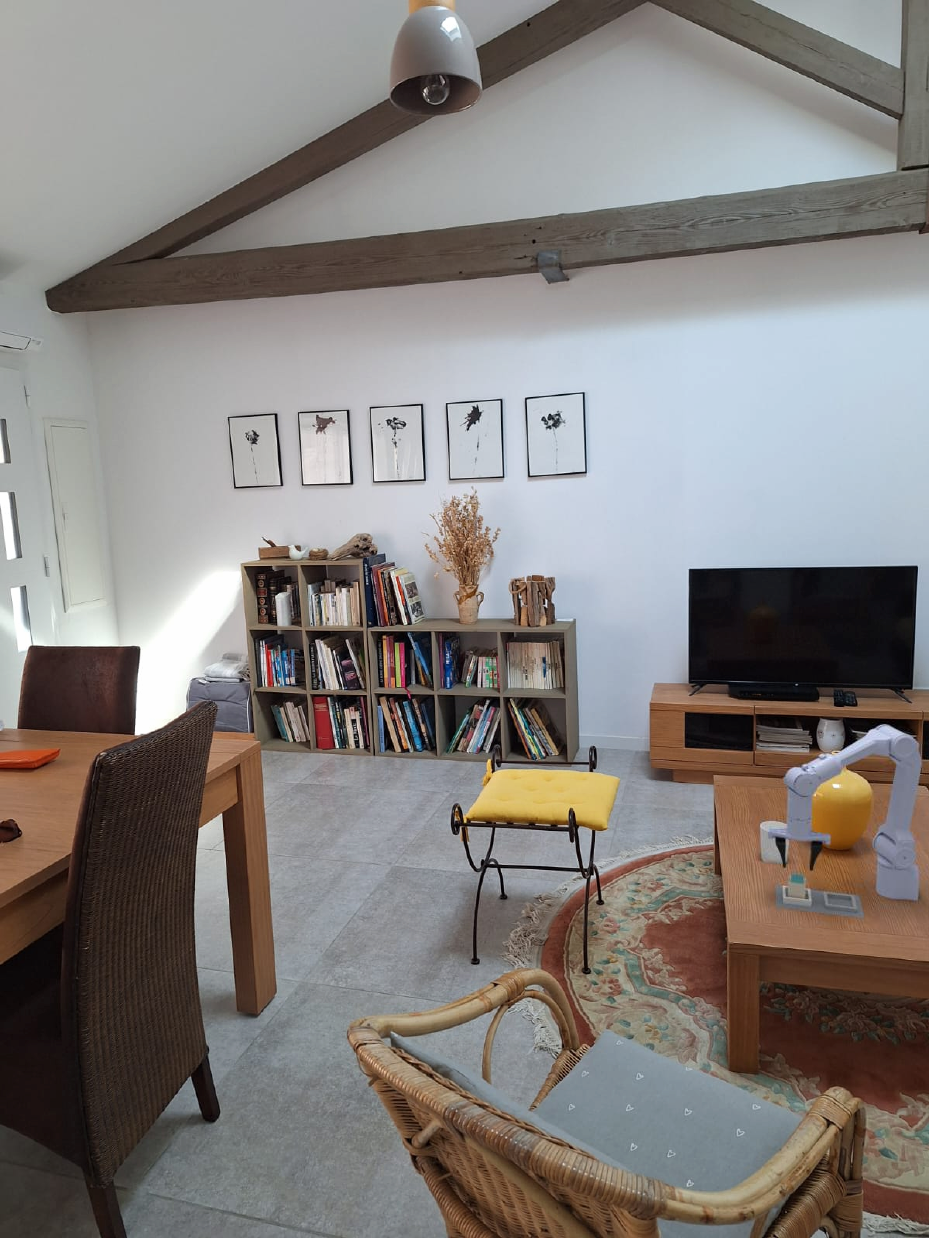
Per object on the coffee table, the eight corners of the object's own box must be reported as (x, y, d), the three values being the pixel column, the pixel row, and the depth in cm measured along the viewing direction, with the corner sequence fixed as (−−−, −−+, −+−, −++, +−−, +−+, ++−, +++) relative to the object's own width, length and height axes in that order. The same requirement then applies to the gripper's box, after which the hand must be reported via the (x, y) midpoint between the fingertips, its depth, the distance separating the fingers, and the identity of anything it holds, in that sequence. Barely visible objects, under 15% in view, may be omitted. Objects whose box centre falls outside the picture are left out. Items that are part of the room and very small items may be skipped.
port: (810, 894, 215) (810, 888, 215) (811, 906, 209) (811, 900, 209) (782, 891, 217) (782, 885, 217) (783, 903, 211) (783, 897, 211)
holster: (854, 899, 212) (854, 895, 212) (857, 912, 206) (857, 908, 205) (823, 895, 215) (823, 891, 214) (825, 908, 208) (825, 905, 208)
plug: (805, 896, 214) (806, 874, 213) (804, 903, 211) (805, 881, 210) (788, 893, 216) (789, 871, 215) (787, 900, 212) (788, 878, 211)
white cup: (787, 855, 240) (788, 822, 239) (790, 867, 233) (791, 833, 231) (758, 853, 242) (759, 820, 241) (760, 864, 235) (761, 830, 233)
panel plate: (858, 899, 214) (859, 895, 214) (864, 922, 203) (864, 918, 203) (775, 889, 221) (775, 885, 221) (775, 911, 210) (776, 907, 209)
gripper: (829, 812, 211) (827, 863, 213) (768, 807, 216) (766, 857, 218) (831, 823, 205) (829, 876, 207) (768, 817, 209) (767, 869, 212)
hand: (797, 867), depth 212 cm, fingers open, 6 cm apart
